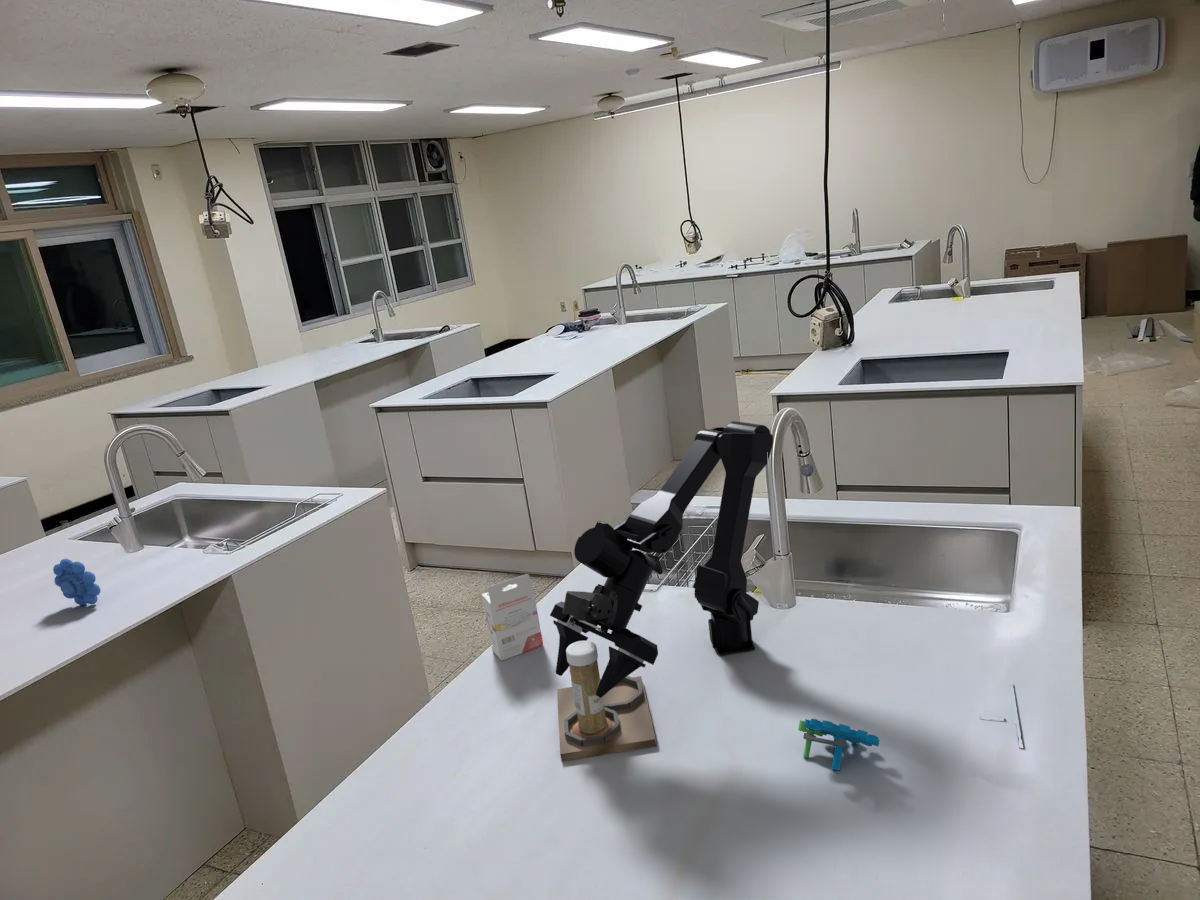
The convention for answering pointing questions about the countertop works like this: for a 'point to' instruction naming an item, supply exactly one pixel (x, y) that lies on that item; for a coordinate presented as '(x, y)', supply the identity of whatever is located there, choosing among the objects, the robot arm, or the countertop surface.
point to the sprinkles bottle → (586, 686)
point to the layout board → (623, 717)
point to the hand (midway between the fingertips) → (577, 685)
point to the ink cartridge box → (512, 617)
